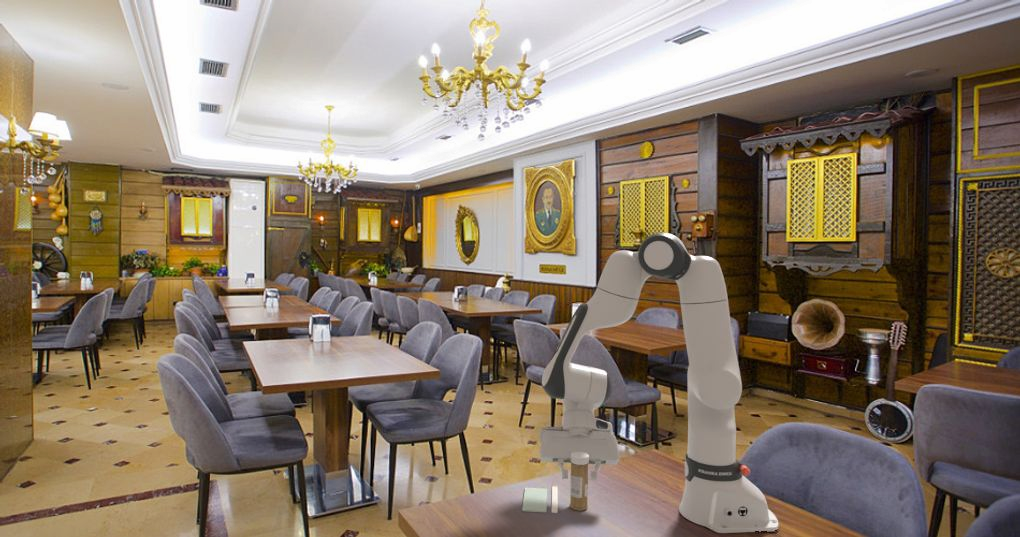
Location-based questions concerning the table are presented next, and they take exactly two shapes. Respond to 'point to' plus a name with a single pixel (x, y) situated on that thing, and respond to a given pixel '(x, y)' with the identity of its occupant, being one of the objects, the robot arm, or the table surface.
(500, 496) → the table surface
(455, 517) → the table surface
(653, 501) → the table surface
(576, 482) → the sprinkles bottle
